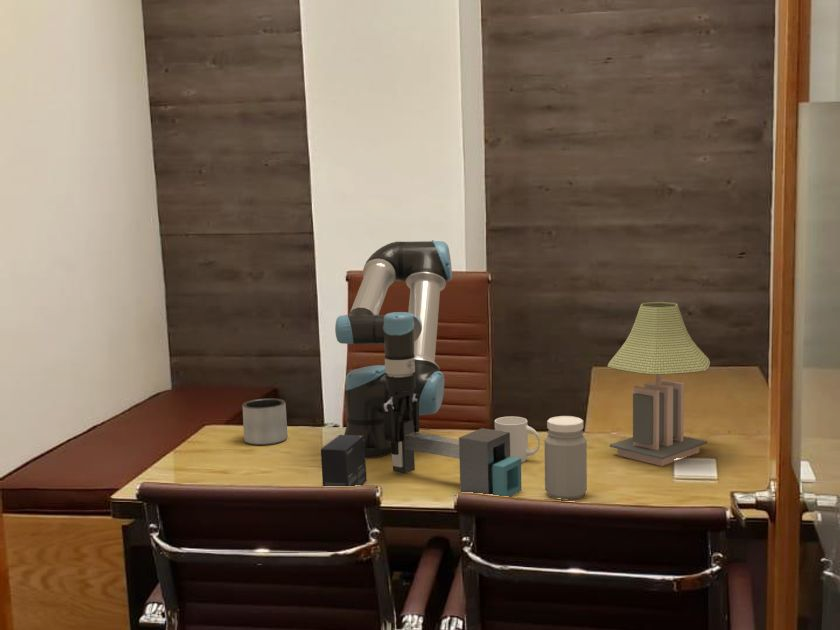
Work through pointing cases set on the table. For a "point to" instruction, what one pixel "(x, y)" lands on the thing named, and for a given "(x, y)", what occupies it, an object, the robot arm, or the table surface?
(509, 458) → the collar
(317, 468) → the table surface
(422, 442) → the shaft
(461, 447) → the block
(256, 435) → the planter
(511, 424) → the mug
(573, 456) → the jar
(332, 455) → the small box
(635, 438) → the desk lamp
